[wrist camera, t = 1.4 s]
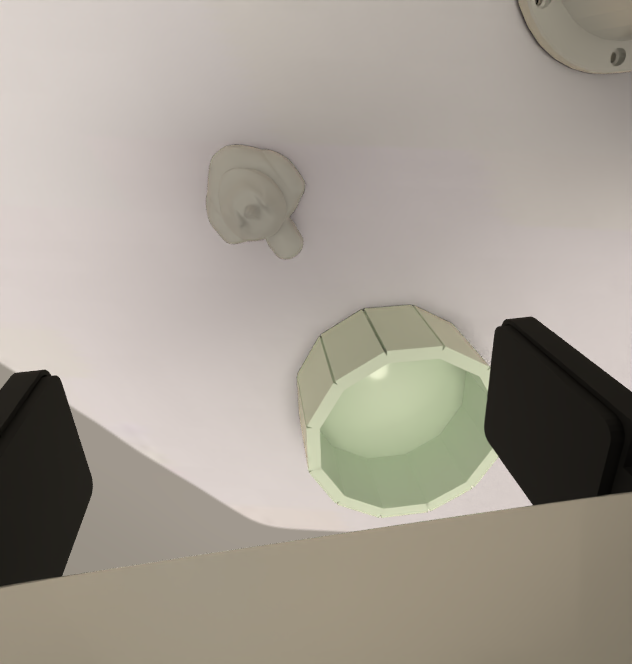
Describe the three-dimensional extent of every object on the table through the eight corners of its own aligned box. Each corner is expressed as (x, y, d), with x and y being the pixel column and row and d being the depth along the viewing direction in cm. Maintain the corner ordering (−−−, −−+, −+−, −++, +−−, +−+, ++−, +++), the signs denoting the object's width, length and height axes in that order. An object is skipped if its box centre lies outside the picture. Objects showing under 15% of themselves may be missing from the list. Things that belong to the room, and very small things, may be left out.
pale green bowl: (293, 314, 33) (302, 358, 27) (478, 299, 34) (522, 338, 29) (301, 465, 38) (311, 526, 33) (461, 447, 40) (494, 503, 34)
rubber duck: (259, 115, 27) (264, 125, 20) (327, 212, 30) (353, 251, 23) (182, 176, 28) (162, 207, 21) (256, 265, 31) (259, 318, 24)
